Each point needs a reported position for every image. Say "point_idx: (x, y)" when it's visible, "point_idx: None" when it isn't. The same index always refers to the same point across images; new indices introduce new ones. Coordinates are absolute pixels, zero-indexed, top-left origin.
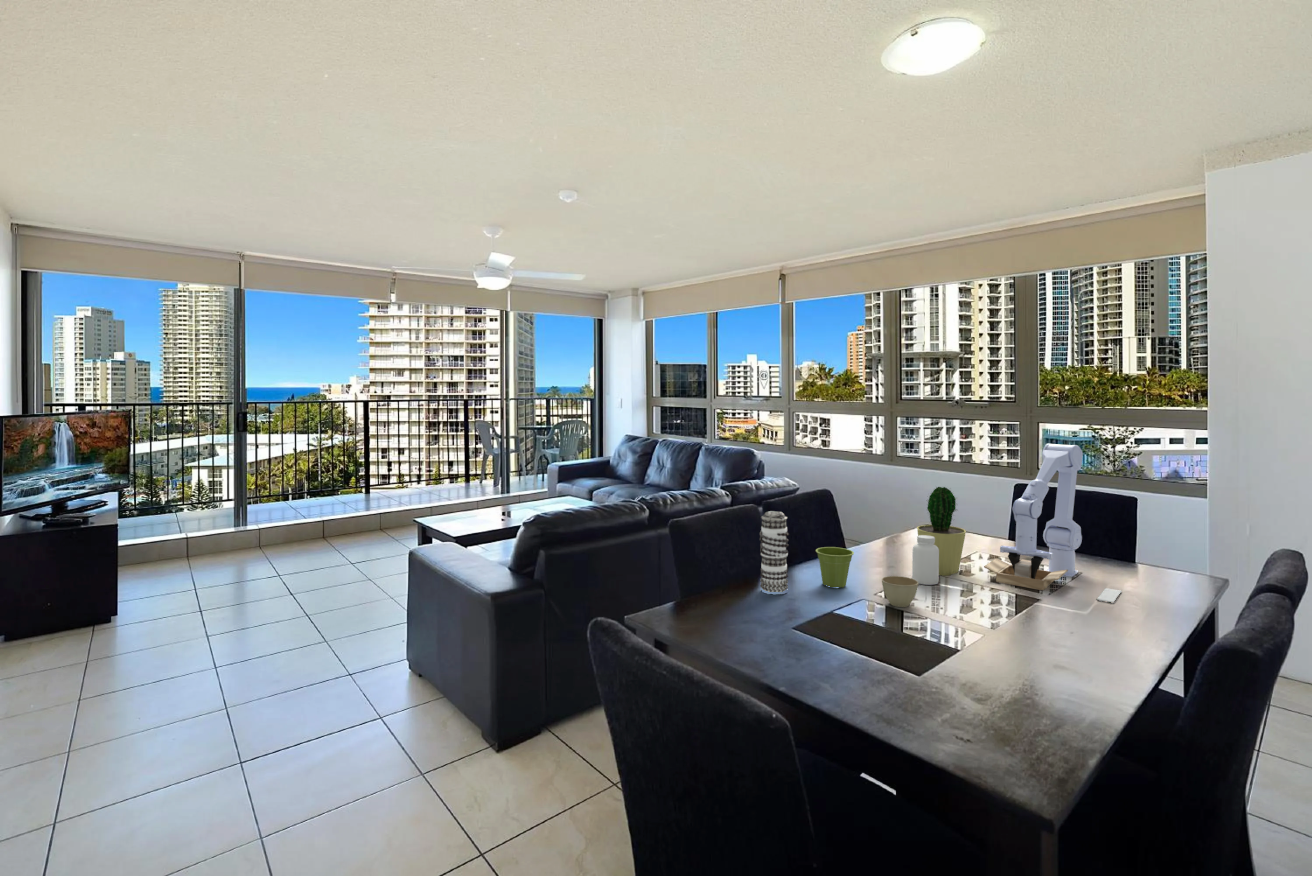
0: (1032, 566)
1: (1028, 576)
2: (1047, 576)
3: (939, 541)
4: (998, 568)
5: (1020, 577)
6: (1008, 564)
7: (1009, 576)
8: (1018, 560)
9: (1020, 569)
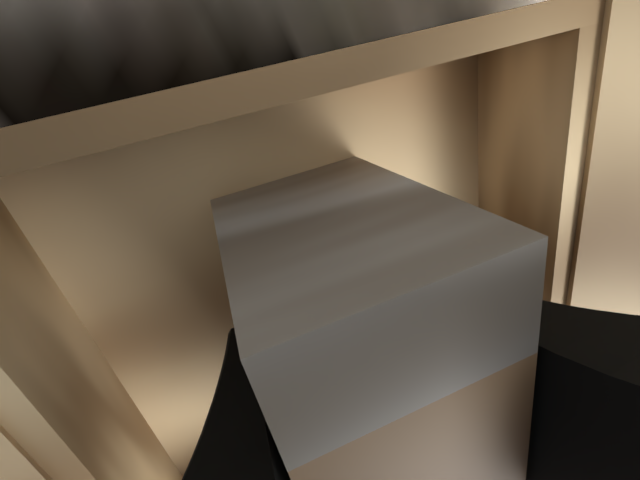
0: (251, 471)
1: (223, 242)
2: (66, 472)
3: None
4: (617, 188)
5: (269, 68)
6: None
7: (426, 32)
8: (550, 469)
9: (384, 239)
